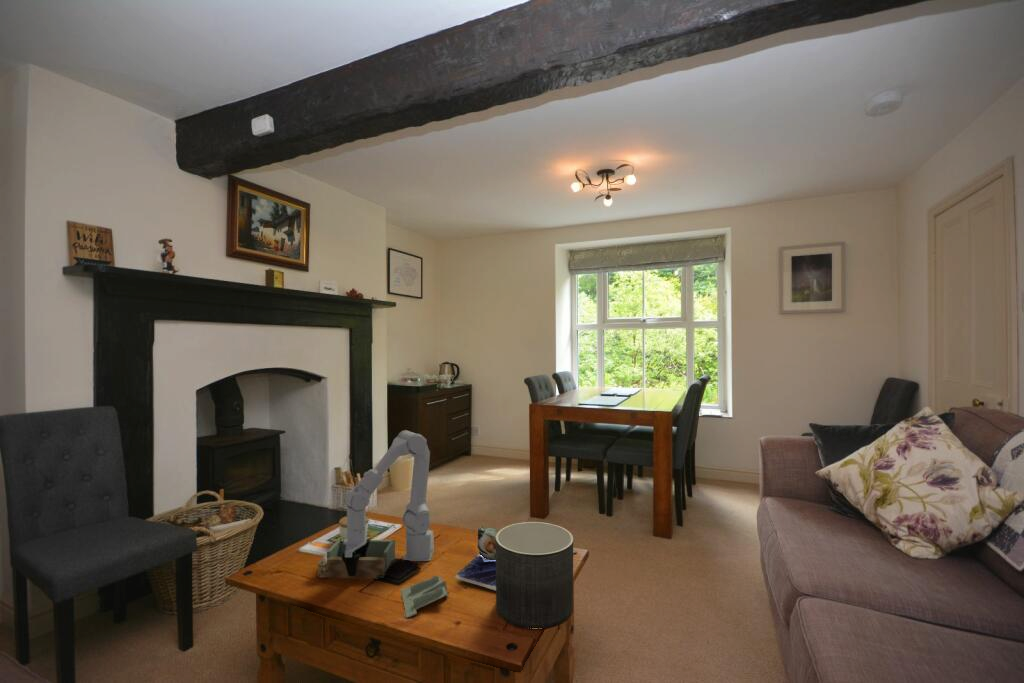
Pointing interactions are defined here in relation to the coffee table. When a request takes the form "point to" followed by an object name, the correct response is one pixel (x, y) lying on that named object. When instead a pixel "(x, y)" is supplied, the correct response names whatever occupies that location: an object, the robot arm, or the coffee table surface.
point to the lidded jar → (344, 526)
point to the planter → (534, 575)
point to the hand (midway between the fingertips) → (356, 569)
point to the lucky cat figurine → (487, 542)
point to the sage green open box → (374, 550)
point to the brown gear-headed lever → (365, 568)
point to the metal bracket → (423, 594)
